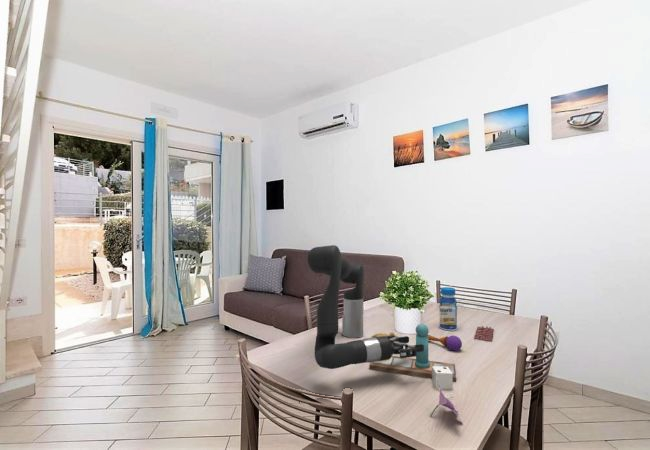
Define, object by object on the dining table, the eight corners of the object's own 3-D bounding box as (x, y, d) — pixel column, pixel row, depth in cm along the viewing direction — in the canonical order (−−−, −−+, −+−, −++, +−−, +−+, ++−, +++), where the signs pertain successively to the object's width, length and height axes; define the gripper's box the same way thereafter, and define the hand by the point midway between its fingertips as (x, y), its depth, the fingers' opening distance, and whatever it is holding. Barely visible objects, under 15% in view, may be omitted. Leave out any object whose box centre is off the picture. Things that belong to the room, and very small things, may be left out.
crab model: (376, 338, 146) (376, 326, 147) (403, 344, 139) (403, 331, 139) (359, 348, 134) (359, 335, 134) (387, 355, 126) (387, 341, 127)
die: (436, 389, 100) (436, 372, 100) (432, 381, 105) (432, 365, 105) (452, 389, 99) (452, 373, 99) (447, 382, 104) (447, 366, 104)
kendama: (423, 328, 147) (464, 336, 131) (423, 342, 146) (464, 352, 130) (415, 328, 144) (456, 337, 128) (414, 342, 143) (456, 352, 127)
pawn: (414, 367, 111) (413, 325, 111) (415, 361, 116) (415, 321, 116) (429, 369, 109) (429, 327, 109) (430, 363, 114) (430, 322, 114)
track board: (369, 369, 114) (369, 364, 114) (375, 357, 124) (375, 352, 124) (456, 382, 104) (456, 377, 104) (454, 368, 114) (454, 363, 114)
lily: (455, 442, 77) (473, 405, 77) (410, 408, 83) (428, 374, 84) (459, 430, 87) (475, 398, 87) (419, 401, 93) (434, 371, 94)
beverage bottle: (460, 329, 158) (460, 288, 158) (450, 332, 153) (450, 290, 154) (446, 324, 165) (445, 286, 165) (435, 327, 160) (435, 287, 161)
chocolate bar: (493, 331, 157) (493, 327, 157) (492, 343, 140) (492, 338, 140) (477, 328, 161) (477, 324, 161) (474, 340, 144) (473, 336, 144)
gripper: (385, 345, 100) (428, 339, 105) (364, 331, 113) (403, 326, 119) (385, 369, 100) (428, 362, 105) (364, 352, 113) (403, 346, 118)
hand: (415, 343), depth 112 cm, fingers open, 8 cm apart
